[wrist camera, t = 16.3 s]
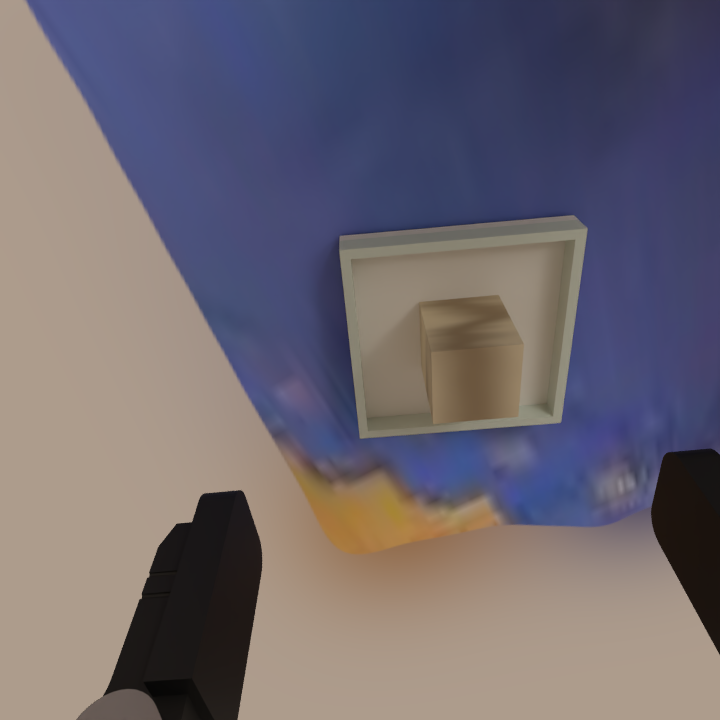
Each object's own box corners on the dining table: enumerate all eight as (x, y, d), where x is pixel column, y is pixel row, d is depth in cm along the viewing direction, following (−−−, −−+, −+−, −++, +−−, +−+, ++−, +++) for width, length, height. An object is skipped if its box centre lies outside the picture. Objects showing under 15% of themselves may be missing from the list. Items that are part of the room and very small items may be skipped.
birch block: (498, 294, 36) (523, 344, 30) (495, 361, 38) (518, 416, 33) (419, 302, 36) (431, 352, 31) (421, 367, 38) (433, 424, 33)
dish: (573, 215, 34) (587, 228, 32) (550, 402, 41) (560, 422, 39) (339, 236, 34) (339, 250, 32) (359, 418, 42) (359, 438, 40)
